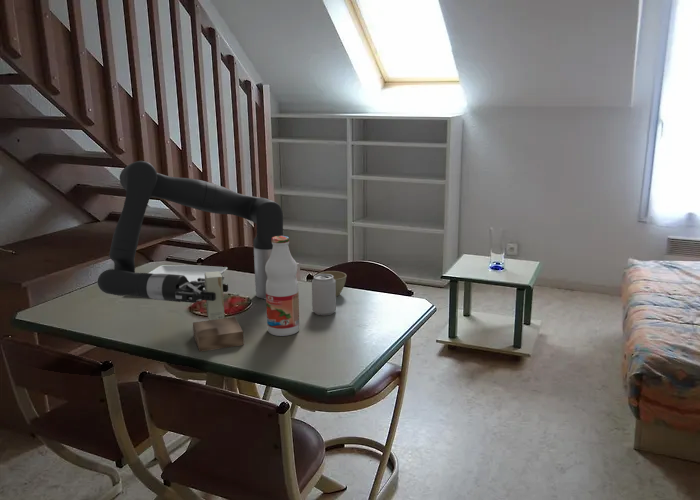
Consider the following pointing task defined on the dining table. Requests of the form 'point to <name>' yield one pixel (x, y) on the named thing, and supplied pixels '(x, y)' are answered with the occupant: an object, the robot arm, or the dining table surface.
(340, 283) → the beige bowl
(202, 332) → the walnut stand
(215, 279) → the skincare box
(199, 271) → the square plate
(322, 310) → the can
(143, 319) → the dining table surface
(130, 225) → the robot arm
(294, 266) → the fruit juice
